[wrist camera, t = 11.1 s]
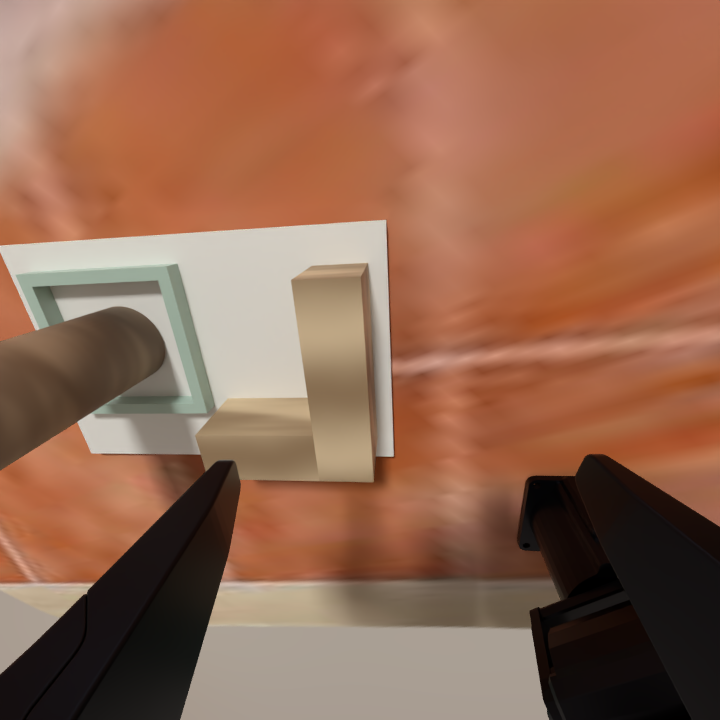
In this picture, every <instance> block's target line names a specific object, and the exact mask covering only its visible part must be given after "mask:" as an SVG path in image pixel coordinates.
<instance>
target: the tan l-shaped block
mask: <svg viewBox="0 0 720 720" xmlns="http://www.w3.org/2000/svg"><path fill="white" fill-rule="evenodd" d="M291 285H292V292H293V299H294V306H295V313H296V320H297V327H298V334H299V341H300V348H301V355H302V362H303V369H304V376H305V383H306V390H307V397H308V398H228V399H227V400H226V401H225V402H224V403H223V404H222V405H221V407H220V408H219V409H218V410H217V411H216V412H215V413H214V414H213V416H212V417H211V418H210V419H209V420H208V421H207V422H206V423H205V425H204V426H203V427H202V428H201V429H200V430H199V431H198V433H197V434H196V435H195V437H196V441H197V444H198V447H199V451H200V454H201V457H202V460H203V464H204V467H205V470H206V471H207V470H208V469H209V468H210V467H211V466H212V465H213V464H214V463H215V462H216V461H218V460H234V461H235V462H236V465H237V469H238V474H239V478H240V480H284V481H335V482H374V474H375V462H376V450H377V439H378V436H377V418H376V399H375V381H374V363H373V344H372V326H371V308H370V289H369V271H368V263H353V264H334V265H316V266H311V267H309V268H308V269H306V270H305V271H303V272H302V273H300V274H299V275H298V276H296V277H295V278H293V279H292V280H291Z"/></svg>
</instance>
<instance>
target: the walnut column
mask: <svg viewBox="0 0 720 720" xmlns="http://www.w3.org/2000/svg"><path fill="white" fill-rule="evenodd" d="M164 358H165V346H164V342H163V339H162V337H161V335H160V333H159V331H158V329H157V328H156V327H155V325H154V324H153V323H152V322H151V321H150V320H149V319H148V318H147V317H146V316H144V315H143V314H141V313H140V312H138V311H136V310H134V309H131V308H128V307H122V306H115V307H110V308H107V309H103V310H100V311H97V312H94V313H91V314H87V315H84V316H81V317H78V318H74V319H71V320H68V321H65V322H62V323H58V324H55V325H52V326H49V327H45V328H42V329H39V330H36V331H33V332H29V333H26V334H23V335H20V336H16V337H13V338H10V339H7V340H4V341H0V470H2V469H3V468H5V467H6V466H8V465H10V464H11V463H13V462H14V461H16V460H18V459H19V458H21V457H22V456H24V455H25V454H27V453H29V452H30V451H32V450H33V449H35V448H37V447H38V446H40V445H41V444H43V443H44V442H46V441H48V440H49V439H51V438H52V437H54V436H56V435H57V434H59V433H60V432H62V431H63V430H65V429H67V428H68V427H70V426H71V425H73V424H75V423H76V422H78V421H79V420H81V419H82V418H84V417H86V416H87V415H89V414H90V413H92V412H94V411H95V410H97V409H98V408H100V407H101V406H103V405H105V404H106V403H108V402H109V401H111V400H113V399H114V398H116V397H117V396H119V395H120V394H122V393H124V392H125V391H127V390H128V389H130V388H132V387H133V386H135V385H136V384H138V383H140V382H141V381H143V380H144V379H146V378H147V377H149V376H151V375H152V374H154V373H155V372H157V371H158V370H159V369H160V367H161V366H162V364H163V361H164Z"/></svg>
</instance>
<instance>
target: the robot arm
mask: <svg viewBox="0 0 720 720" xmlns="http://www.w3.org/2000/svg"><path fill="white" fill-rule="evenodd" d="M535 483H537V484H535ZM533 484H535V485H533ZM240 487H241V483H240V478H239V474H238V469H237V465H236V462H235V461H234V460H218V461H216V462H215V463H214V464H213V465H212V466H211V467H210V468H209V469H208V470H207V471H206V472H205V473H204V474H203V475H202V476H201V477H200V478H199V479H198V480H197V481H196V482H195V483H194V484H193V485H192V486H191V487H190V488H189V489H188V490H187V491H186V492H185V493H184V494H183V495H182V496H181V497H180V498H179V499H178V500H177V501H176V502H175V503H174V504H173V505H172V506H171V507H170V508H169V509H168V510H167V511H166V512H165V513H164V514H163V515H162V516H161V517H160V518H159V519H158V520H157V521H156V522H155V523H154V524H153V525H152V526H151V527H150V528H149V529H148V530H147V531H146V532H145V533H144V534H143V535H142V536H141V537H140V538H139V539H138V540H137V541H136V542H135V543H134V545H133V546H132V547H131V548H130V549H129V550H128V551H127V552H126V553H125V554H124V555H123V556H122V557H121V558H120V559H119V560H118V561H117V562H116V563H115V564H114V565H113V566H112V567H111V568H110V569H109V570H108V571H107V572H106V573H105V574H104V575H103V576H102V577H101V578H100V579H99V580H98V581H97V582H96V583H95V584H94V585H93V586H92V587H91V588H90V589H89V590H88V592H87V594H84V595H83V596H82V597H81V598H80V599H79V600H78V601H77V602H76V603H75V604H74V605H73V606H72V607H71V608H70V609H69V610H68V611H67V612H66V613H65V614H64V615H63V616H62V617H61V618H60V619H59V620H58V621H57V622H56V623H55V624H54V625H53V626H52V627H50V629H49V630H47V631H46V632H45V633H44V634H43V635H42V636H41V637H40V639H38V640H37V641H36V642H35V643H34V644H33V645H32V646H31V647H30V648H29V649H28V650H26V651H25V652H24V653H23V654H22V655H21V656H20V657H19V658H18V659H17V660H16V661H14V663H12V664H11V665H10V666H9V667H8V668H7V669H6V670H5V671H4V672H2V673H1V674H0V720H180V718H181V715H182V712H183V708H184V705H185V701H186V698H187V694H188V691H189V688H190V684H191V681H192V677H193V674H194V670H195V667H196V664H197V660H198V657H199V653H200V650H201V647H202V643H203V640H204V636H205V633H206V630H207V626H208V623H209V619H210V616H211V613H212V609H213V606H214V602H215V599H216V596H217V592H218V589H219V585H220V582H221V579H222V575H223V572H224V568H225V565H226V561H227V558H228V554H229V549H230V544H231V539H232V534H233V528H234V522H235V517H236V511H237V506H238V500H239V495H240ZM517 541H518V545H519V547H520V549H522V550H529V551H541V554H542V556H543V558H544V561H545V563H546V566H547V568H548V570H549V573H550V575H551V578H552V580H553V582H554V585H555V587H556V590H557V592H558V594H559V597H560V599H561V601H559V602H556V603H554V604H551V605H548V606H546V607H543V608H541V609H540V608H539V607H538V608H535V609H532V610H530V618H531V624H532V626H531V629H532V635H533V641H534V647H535V653H536V659H537V665H538V671H539V677H540V684H541V690H542V696H543V700H544V703H545V705H546V708H547V714H548V717H549V720H720V527H719V526H718V525H716V524H715V523H713V522H711V521H710V520H708V519H707V518H705V517H703V516H702V515H700V514H699V513H697V512H696V511H694V510H692V509H691V508H689V507H688V506H686V505H684V504H683V503H681V502H680V501H678V500H676V499H675V498H673V497H672V496H670V495H669V494H667V493H665V492H664V491H662V490H661V489H659V488H657V487H656V486H654V485H653V484H651V483H649V482H648V481H646V480H645V479H643V478H642V477H640V476H638V475H637V474H635V473H634V472H632V471H630V470H629V469H627V468H626V467H624V466H622V465H621V464H619V463H618V462H616V461H615V460H613V459H611V458H610V457H608V456H606V455H603V454H589V455H587V456H585V458H584V460H583V462H582V463H581V465H580V467H579V469H578V471H577V473H576V476H532V477H530V478H528V480H527V483H526V489H525V495H524V502H523V508H522V514H521V521H520V527H519V533H518V540H517Z"/></svg>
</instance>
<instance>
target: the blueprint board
mask: <svg viewBox="0 0 720 720" xmlns="http://www.w3.org/2000/svg"><path fill="white" fill-rule="evenodd" d="M0 253H1V255H2V257H3V259H4V261H5V264H6V266H7V268H8V270H9V272H10V275H11V277H12V279H13V281H14V283H15V286H16V288H17V290H18V292H19V294H20V297H21V299H22V301H23V303H24V305H25V308H26V310H27V312H28V314H29V316H30V319H31V321H32V323H33V325H34V327H35V330H39V329H42V328H45V327H49V326H52V325H55V324H58V323H62V322H65V321H68V320H71V319H74V318H78V317H81V316H84V315H87V314H91V313H94V312H97V311H100V310H103V309H107V308H110V307H115V306H122V307H128V308H131V309H134V310H136V311H138V312H140V313H141V314H143V315H144V316H146V317H147V318H148V319H149V320H150V321H151V322H152V323H153V324H154V325H155V327H156V328H157V329H158V331H159V333H160V335H161V337H162V339H163V342H164V346H165V358H164V361H163V364H162V366H161V367H160V369H159V370H158V371H157V372H155V373H154V374H152V375H151V376H149V377H147V378H146V379H144V380H143V381H141V382H140V383H138V384H136V385H135V386H133V387H132V388H130V389H128V390H127V391H125V392H124V393H122V394H120V395H119V396H117V397H116V398H114V399H113V400H111V401H109V402H108V403H106V404H105V405H103V406H101V407H100V408H98V409H97V410H95V411H94V412H92V413H90V414H89V415H87V416H86V417H84V418H82V419H81V420H79V421H78V424H79V427H80V429H81V431H82V433H83V435H84V438H85V440H86V442H87V444H88V446H89V449H90V451H91V453H107V454H198V455H201V454H200V451H199V447H198V444H197V441H196V437H195V435H196V434H197V433H198V431H199V430H200V429H201V428H202V427H203V426H204V425H205V423H206V422H207V421H208V420H209V419H210V418H211V417H212V416H213V414H214V413H215V412H216V411H217V410H218V409H219V408H220V407H221V405H222V404H223V403H224V402H225V401H226V400H227V399H228V398H308V397H307V390H306V383H305V376H304V369H303V362H302V355H301V348H300V341H299V334H298V327H297V320H296V313H295V306H294V299H293V292H292V285H291V280H292V279H293V278H295V277H296V276H298V275H299V274H300V273H302V272H303V271H305V270H306V269H308V268H309V267H311V266H316V265H334V264H353V263H368V271H369V289H370V308H371V326H372V344H373V363H374V381H375V399H376V418H377V436H378V439H377V450H376V456H380V457H394V440H393V410H392V379H391V349H390V318H389V288H388V257H387V227H386V220H375V221H360V222H345V223H330V224H316V225H301V226H286V227H271V228H256V229H241V230H226V231H211V232H196V233H181V234H166V235H151V236H136V237H121V238H106V239H91V240H76V241H61V242H46V243H31V244H16V245H4V246H0Z"/></svg>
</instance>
